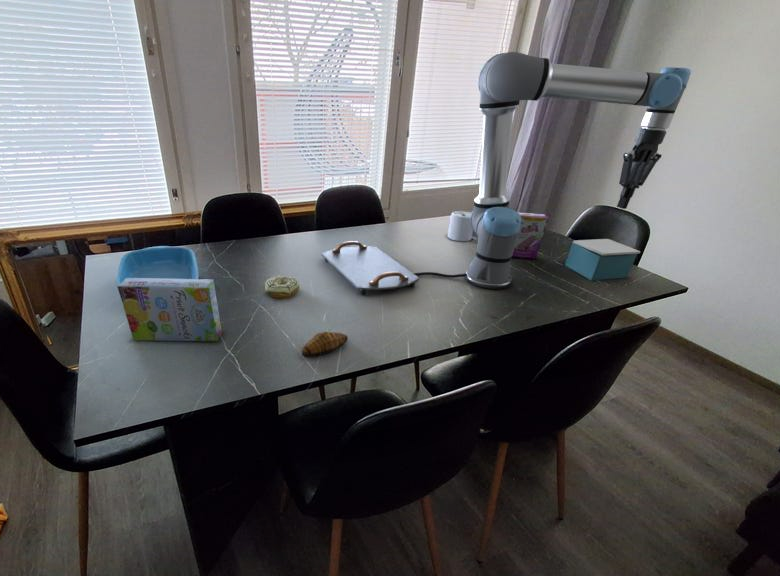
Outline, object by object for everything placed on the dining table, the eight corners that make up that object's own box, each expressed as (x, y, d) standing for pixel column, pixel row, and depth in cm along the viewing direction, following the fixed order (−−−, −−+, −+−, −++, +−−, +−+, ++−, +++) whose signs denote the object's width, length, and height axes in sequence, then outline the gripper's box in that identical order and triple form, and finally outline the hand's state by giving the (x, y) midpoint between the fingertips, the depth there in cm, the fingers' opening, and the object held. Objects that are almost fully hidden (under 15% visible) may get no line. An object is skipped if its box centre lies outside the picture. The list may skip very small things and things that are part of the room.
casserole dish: (205, 308, 120) (201, 285, 116) (119, 319, 113) (112, 295, 109) (196, 262, 148) (193, 242, 144) (127, 269, 141) (121, 248, 137)
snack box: (222, 331, 110) (214, 278, 101) (217, 342, 105) (208, 288, 97) (140, 330, 109) (125, 276, 100) (132, 341, 104) (115, 285, 96)
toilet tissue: (443, 234, 187) (447, 211, 181) (468, 233, 189) (473, 210, 183) (452, 241, 178) (456, 218, 173) (478, 241, 180) (483, 217, 175)
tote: (626, 277, 152) (637, 254, 147) (591, 280, 149) (600, 256, 144) (598, 262, 164) (607, 240, 159) (564, 265, 161) (572, 242, 156)
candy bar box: (507, 257, 165) (518, 215, 156) (505, 253, 169) (515, 211, 160) (536, 259, 164) (549, 217, 155) (533, 255, 169) (545, 213, 159)
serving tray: (317, 257, 157) (317, 241, 153) (371, 250, 165) (373, 235, 162) (361, 300, 128) (362, 282, 125) (424, 290, 136) (427, 272, 133)
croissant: (310, 364, 99) (310, 346, 96) (295, 351, 103) (294, 334, 101) (354, 347, 106) (355, 330, 103) (338, 335, 110) (339, 319, 108)
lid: (639, 253, 146) (640, 251, 146) (602, 255, 143) (603, 253, 143) (607, 240, 159) (607, 238, 159) (572, 242, 156) (573, 240, 155)
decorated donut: (261, 297, 127) (259, 286, 125) (271, 283, 136) (270, 272, 134) (294, 301, 126) (293, 289, 124) (302, 286, 135) (302, 275, 133)
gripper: (660, 128, 133) (628, 204, 146) (626, 126, 130) (597, 204, 143) (680, 130, 127) (645, 210, 140) (645, 129, 124) (613, 210, 137)
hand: (621, 207), depth 141 cm, fingers closed
